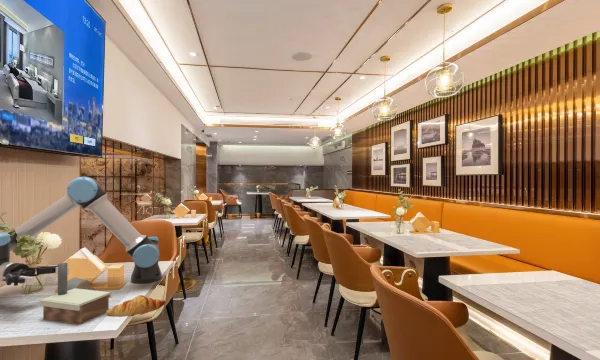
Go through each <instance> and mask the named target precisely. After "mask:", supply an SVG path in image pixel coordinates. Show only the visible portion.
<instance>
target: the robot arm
mask: <svg viewBox="0 0 600 360" xmlns="http://www.w3.org/2000/svg"><path fill="white" fill-rule="evenodd" d="M78 207H82V209H83V210H85V211H90V212H91V213H92V214H93V215H94V216H95V217H96V218H97V219H98V220H99V221H100V222H101V224H103V225H104V226H105V227H106V228H107V229H108V231H110V232H111V233H112V234H113V235H114V236H115V237H116V238H117V239H118V240H119V241H120V242H121V244H123V246H124V247H125V252H126V253H127V254H128V256H129V257H130V258H131V259H132V262H133V263H134V267H133V270H132V272H131V276H130V283H134V284H149V283H153V282H156V281H159V280H161V279H162V278H163V277H162V276H163V275H162V271H161V268H160V266H159V258H160V254H161V253H160V248H159V242H160V241H159V237H158V236H147V235H146V234H141V233H140V232H139V231H138V230H137V229H136V228H135V226H133V225H132V224H131V222H130V221H129V220H128V219H127V218H126V217H125V216H124V215H123V214H122V213H121V212H120V210H118V209H117V208H116V207H115V205H113V204H112V202H110V200H109V199H108V193H107V192H106V190H104V188H102V186H101V183H100V182H99V181H98V180H97V179H96V178H92V177H89V176H79V177H76V178H74V179H72V180H70V182H69V183H68V185H67V187H66V193H65V195H63V197H60V199H58V200H56V201H55V202H54V203H52V204H50V205H49V206H48V207H46V208H44V209H43V210H42V211H39V212H38V213H37V214H35V215H34V216H32V217H31V218H29V219H28V220H26V221H25V222H23V223H22V224H20V225H19V226H17V227H16V228H14V229H13V230H12V231H14V232H15V234H14V235H13V236H10V234H8V233H9V232H0V281H3V282H5V283H6V286H11V285H12V284H13V287H15V286H19V285H20V284H21V285H28V286H29V285H30V286H32V285H34V277H38V276H40V275H47V274H50V275H51V274H55V275H58V264H57V265H45V266H44V265H39V266H36V267H32V266H31V267H30V266H29V265H27V264H26V263H23V262H22V263H21V262H12V261H11V262H10V259H11V256H10V255H11V252H12V251H14V250H13V249H14V248H15V247H17V240H16V236H17V235H21V234H28V235H30V236H32V238H33V237H35V236H36V235H38V234H40V233H41V232H42V231H44V230H45V229H47V228H48V227H50V226H52V225H53V224H54V223H56V222H57V221H58V220H61V218H63V217H65V216H66V215H67V214H69V213H70V212H72V211H74V209H76V208H78ZM17 233H18V234H17ZM69 274H70V268H69V267H67V276H68V275H69Z"/></svg>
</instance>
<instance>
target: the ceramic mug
mask: <svg viewBox="0 0 600 360" xmlns="http://www.w3.org/2000/svg"><path fill="white" fill-rule="evenodd" d="M74 288H77V289H86V290H95V287H94V286H93V287H92V284H91V281H89V280H88V279H84V278H80V277H72V278H70V279H68V280H67V291H68V290H71V289H74Z"/></svg>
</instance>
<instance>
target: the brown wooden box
mask: <svg viewBox="0 0 600 360" xmlns="http://www.w3.org/2000/svg"><path fill="white" fill-rule="evenodd" d="M109 299H110V298H109V295H107V296H105V297H102V298H100V299H97V300H95V301H92V302H89V303H87V304H84V305H82V306H80V310H79V311H76V310H69V309H61V308H54V307H47V306H43V307H42V308H43V309H42V310H43V312H42V313H43V314H42V315H43V317H42V318H43V320H47V321H55V322H60V323H61V322H63V323H67V324H68V323H69V324H74V325H82V324H85V323H86V322H88V321H90V320H93V319H95V318H97V317H100V316H103V315H104V314H106V311H107V310H109V307H110V305H109V303H110V302H109V301H110V300H109Z"/></svg>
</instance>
